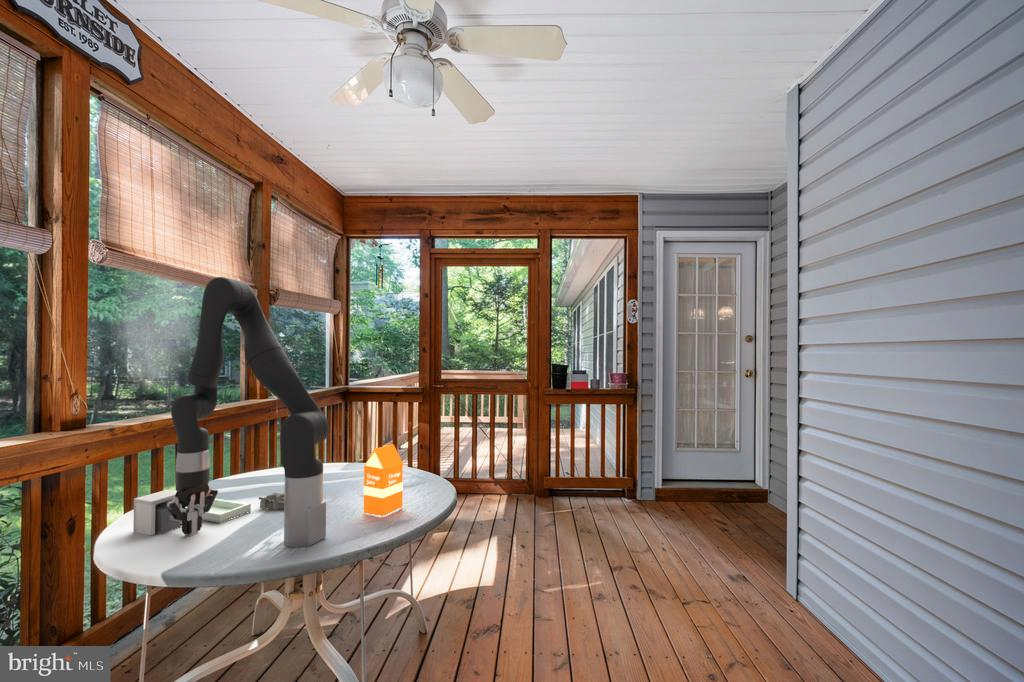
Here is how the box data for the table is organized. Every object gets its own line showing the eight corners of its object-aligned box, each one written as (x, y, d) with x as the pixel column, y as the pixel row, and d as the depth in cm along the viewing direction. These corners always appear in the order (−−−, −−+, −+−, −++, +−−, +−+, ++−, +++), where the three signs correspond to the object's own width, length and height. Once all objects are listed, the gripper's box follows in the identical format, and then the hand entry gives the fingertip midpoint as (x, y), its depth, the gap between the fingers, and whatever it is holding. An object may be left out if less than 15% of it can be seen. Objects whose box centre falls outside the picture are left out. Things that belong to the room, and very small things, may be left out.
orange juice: (363, 514, 141) (363, 447, 141) (384, 505, 149) (384, 442, 149) (382, 518, 138) (383, 450, 138) (403, 509, 145) (403, 445, 146)
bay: (184, 523, 133) (184, 491, 134) (150, 535, 125) (151, 501, 125) (167, 520, 136) (167, 489, 136) (133, 532, 127) (133, 498, 127)
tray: (250, 512, 143) (250, 503, 143) (220, 523, 134) (220, 514, 134) (203, 504, 150) (203, 496, 150) (171, 515, 140) (171, 506, 140)
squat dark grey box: (203, 531, 128) (203, 508, 128) (184, 537, 123) (185, 515, 123) (165, 524, 133) (165, 502, 133) (146, 530, 128) (146, 508, 129)
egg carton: (256, 510, 145) (256, 497, 145) (269, 502, 153) (269, 490, 153) (290, 510, 145) (290, 497, 145) (301, 502, 152) (301, 490, 152)
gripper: (176, 475, 119) (175, 544, 118) (226, 463, 132) (225, 525, 131) (156, 472, 121) (155, 540, 121) (207, 460, 134) (206, 521, 134)
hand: (192, 531), depth 126 cm, fingers closed on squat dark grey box, 2 cm apart
